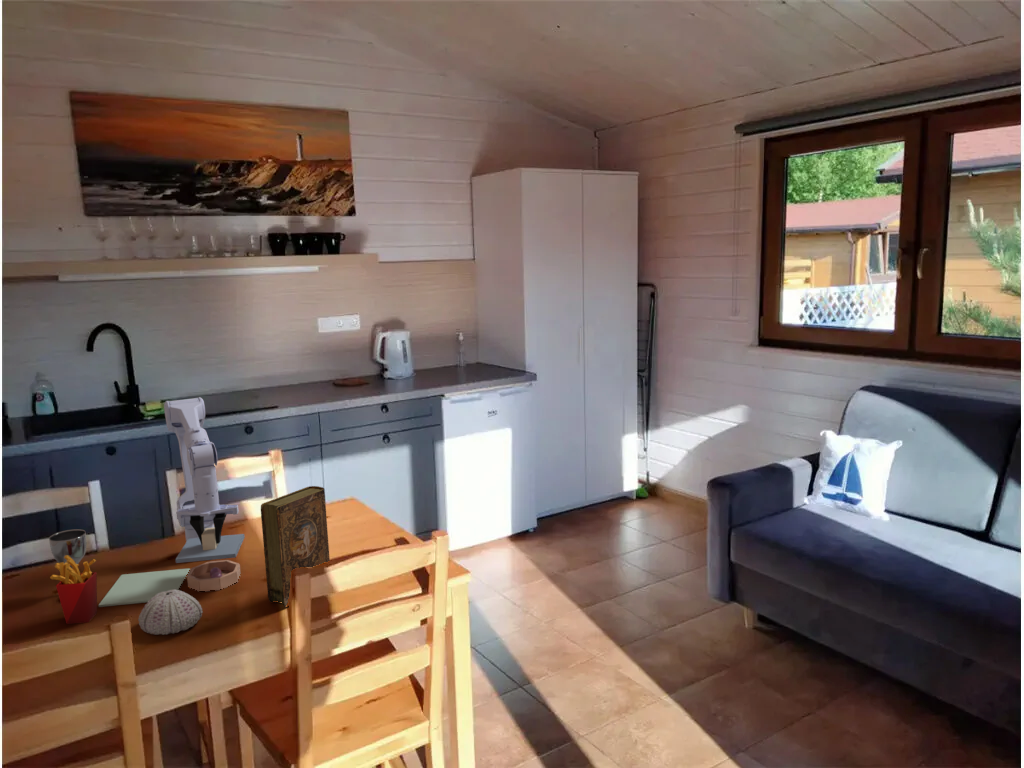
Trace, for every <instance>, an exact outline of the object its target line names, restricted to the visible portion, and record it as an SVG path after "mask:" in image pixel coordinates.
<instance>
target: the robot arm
mask: <svg viewBox="0 0 1024 768" xmlns="http://www.w3.org/2000/svg"><path fill="white" fill-rule="evenodd" d="M163 405H164V406H163V408H164V417H165V424H166V427H167V431H168V432H171V433H174V434H175V435H176V438H177V441H178V447H179V454H180V461H181V466H182V475H183V482H184V487H185V491H184V492H183V493H182V494H181V495H180V496H179V497H178V498H177V500H176V514H175V515H176V520H177V521H178V524H179V526H180V527H182V528H184V532H185V534H184V535H185V541H186V542H187V540H188V539H191V538H199V539H200V542H201V545H202V533H203V532H204V530H205V528H214V527H215V533H216V544H218V543H220V541H221V536H222V531H223V525H224V523H225V520H226V517H227V515H238V514H239V512H240V511H239V505H238V504H220V499H219V498H220V497H219V491H218V490H219V488H218V478H217V471H216V470H217V468H216V466H218V452H217V448H216V446H215V443H214V442H213V441H210V439H209V436H208V433H207V430H206V429H205V428H203V427H204V423H205V418H206V406H205V401H204V399H203V398H202V397H201V396H199V397H195V398H187V399H178V400H177V399H175V400H165V402H164V404H163ZM186 542H185V543H186Z"/></svg>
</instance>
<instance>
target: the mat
mask: <svg viewBox="0 0 1024 768" xmlns="http://www.w3.org/2000/svg"><path fill="white" fill-rule="evenodd" d="M189 570H191V568H177V569H168V570H166V569H165V570H157V571H147V572H137V573H128V574H127V573H125V574H121V575H120V576H119V578H118V579H117V580H116V581H115V583H114V584H113V585H112V587H111V588H110V589H109V591H108V592H107V593H106V594H105V596H104V597H103V599H102V600H101V601H100V602H99V604H97V607H98V608H103V607H104V608H105V607H113V606H123V605H133V604H142V603H143V604H144V603H148V601H149V600H150V599H151V598H152V597H153V596H155V595H156V594H158V593H160V592H166V591H169V590H173V589H176V590H179V591H180V589H181V587H182V585H183V584H184V582H183V581H185V580H186V578H187V576H186V575H187V574H188V572H190V571H189ZM185 577H186V578H185ZM184 579H185V580H184ZM181 584H182V585H181ZM180 586H181V587H180ZM179 588H180V589H179Z"/></svg>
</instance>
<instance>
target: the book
mask: <svg viewBox="0 0 1024 768" xmlns="http://www.w3.org/2000/svg"><path fill="white" fill-rule="evenodd" d="M325 493H326V492H325V488H324V487H323V486H318V485H309V486H307V487H304V488H303V487H302V488H301V489H299V490H296V491H295V490H294V491H293V492H290V493H288V494H284V495H281V496H279V497H276V498H274V499H271V500H267V501H266V502H263V503H261V505H260V519H261V528H262V531H261V532H262V541H263V552H264V564H265V565H264V566H265V575H266V578H265V579H266V586H267V598H268V601H269V603H271V602H273V601H278V602H282V603H283V604H282V603H281V604H282V605H283V606H284V607H285V608H287V607H286V605H287V603H288V599H289V593H290V578H291V571H292V570H293V569H295V568H300V567H313V566H316V565H319V564H322V563H324V562H328V561H330V562H331V560H330V545H329V534H328V521H327V506H326V494H325Z"/></svg>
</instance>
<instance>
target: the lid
mask: <svg viewBox="0 0 1024 768" xmlns="http://www.w3.org/2000/svg"><path fill="white" fill-rule="evenodd" d="M244 540H245V533H238V534H228V535H227V534H226V535H221V541H220V543H218V544H216V533H215V526H214V528H205V530H204V532H203V533H202V545H201V542H200V539H199V538H191V539H188V540H187V542H185V544H184V545H183V546H182V548H181V550H180V552H179V553H178V555H177V556H176V557H175V563H176V564H179V563H189V562H190V563H191V562H200V561H201V562H203V561H215V560H222V559H223V560H226V559H232V558H233V559H235V558H236V557H237V556H238V554H239V551H240V549H241V546H242V544H243V543H244ZM236 559H237V558H236Z"/></svg>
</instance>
